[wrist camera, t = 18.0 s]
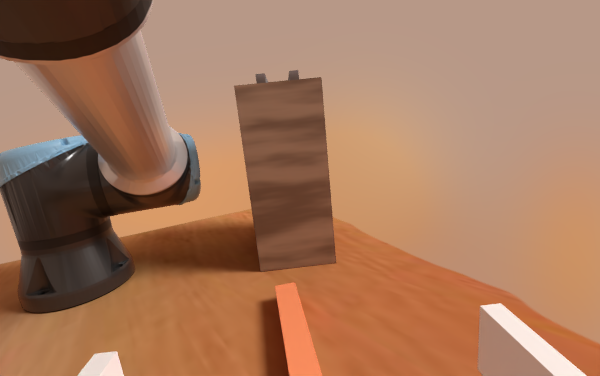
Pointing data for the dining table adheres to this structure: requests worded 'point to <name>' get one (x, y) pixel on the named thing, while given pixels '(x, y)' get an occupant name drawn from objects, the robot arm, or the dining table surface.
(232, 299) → the dining table surface
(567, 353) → the dining table surface
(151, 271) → the dining table surface
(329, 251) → the stand
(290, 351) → the lever bar
